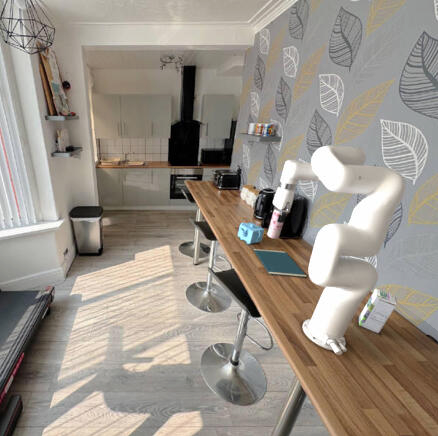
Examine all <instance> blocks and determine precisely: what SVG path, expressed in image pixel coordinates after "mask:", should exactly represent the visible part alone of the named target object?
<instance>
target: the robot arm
mask: <svg viewBox="0 0 438 436" xmlns="http://www.w3.org/2000/svg"><path fill="white" fill-rule="evenodd" d="M366 160H367V154H366V153H365V151H363V150H362V149H361V148H359V147H357V146H351V145H349V146H347V145H332V144H331V145H323V146H320V147H319V148H317V149H316V150H315V151H314V153H312V156H311V159H310V162H303V161H301V160H298V159H287V160H286V161H285V162H284V165H283V169H282V172H281V176H280V180H279V183H278V187H277V189H276V191H275V194H274V196H273V200H272V204H273V206H274V207H273V212H274V210H275V209H277V208H278V209H280V210H281V211H280V215H279V217H278V220H277V222H280V223H283V224H284V223H285V221H286V217H287V216H288V214H289V213H291V208H292V205H293V202H294V198H295V191H296V190H297V187H298V183H299V181H312V182H318V181H319V182H321V183H322V185H324V187H325V188H326V189H327V190H329V191H331V192H332V193H338V194H350V195H351V194H353V195H365V196H366V197H364V198H363V199H361V200H360V202H358V203H357V204H356V206H355V207H354V209H353V210H352V212H351V217H350V219H349V222H348V223H329V224H326V225H324V226H323V227H321V228H320V230H319V231H318V233H317V234H316V237H315V241H314V245H313V248H312V252H311V255H310V259H309V263H308V271H307V272H308V277H309V279H310V281H311V282H312V283H313V284H315V285H316V286H318V287H324V289H323V291H322V293H321V295H320V297H319V300H318V302H317V305H316V307H315V309H314V311H313V314H312V316H311V318H308V319H306V320H304V321H303V323H302V331H303V333H304V334H305V335H306V337H307V338H308V339H309V340H310V341H312V342H313V343H314V344H316V345H317V346H319V347H322V348H323V349H326V350H329V351H333V352H334V353H335V355H336V356H341V355H343V353H347V351H348V349H347V348H346V343H347V342H346V339H345V337H344V335H345V333H346V331H347V329H348V328H349V326H350V324H351V322H352V320H353V318H354V316H355V315H356V313H357V311H358V309H359V307H360V306H361V303H362V302H363V300H364V299H365V298H366V296H367V295H368V294H369V293H370V292H371V291H372V290H373V289H374V288H375V287H376V285H377V283H378V280H379V272H378V270H377V268H376V267H375V266H374V265H373V264H372V263H371V262H369V261H367V260H364V259H362V258H371V257H375V256H377V255H378V254H379V253H380V251H381V250H382V248H383V245H384V243H385V240H386V237H387V234H388V231H389V229H390V226H391V223H392V218H393V217H394V215H395V212H396V211H397V208H398V207H399V205H400V204H401V202H402V201H403V198H404V196H405V193H406V189H407V185H406V180H405V177H404V176H403V175H402V174H401V172H399V171H398V170H397V169H394V168H391V167H386V166H378V165H365V163H366ZM283 210H285V211H284V212H283ZM273 212H272V213H273ZM272 216H273V214H272V215H271V217H272ZM343 256H344V257H343ZM360 258H361V259H360Z"/></svg>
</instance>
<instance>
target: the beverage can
mask: <svg viewBox="0 0 438 436" xmlns="http://www.w3.org/2000/svg"><path fill="white" fill-rule="evenodd" d="M273 211H274V212H272V215H273V216H272V215H271V219H270V222H269V226H268V229H267V233H266V236H268V237H269V238H270V239H279V238H280V235H281V232H282V229H283V225H284V223H280V222H277V220H278V217H279V215H280V211H281V210H280V209H278V208H277V209H275V210H274V209H273ZM284 211H285V210H283V212H284Z"/></svg>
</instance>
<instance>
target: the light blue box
mask: <svg viewBox="0 0 438 436" xmlns="http://www.w3.org/2000/svg"><path fill="white" fill-rule="evenodd" d="M264 234H265V229H264V228H263V227H262V226H261V225H257V224H255V223H253V222H247V223H246V222H241V223H240V224H239V228H238V231H237V237H239V238H240V240H241V241H245V243H246V244H247V245H251V244H258V243H261V242H262V240H263V238H264V237H263V236H264Z"/></svg>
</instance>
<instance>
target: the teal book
mask: <svg viewBox="0 0 438 436" xmlns="http://www.w3.org/2000/svg"><path fill="white" fill-rule="evenodd" d="M253 251H254V253H255V255H256V256H257V257H258V259H259V261H260V262H261V263H262V265H263V266H264V268H265V270H266V271H267V273H268V274H269V275H273V276H285V277H295V278H297V277H298V278H308V276H307V275H306V274H305V272H304V271H303V270H302V269H301V268H300V266H298V265H297V263H296V262H295V261H294V260H293V259H292V258H291V256H289V254H288V253H287V251H285V250H275V249H261V248H260V249H259V248H253Z"/></svg>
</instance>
